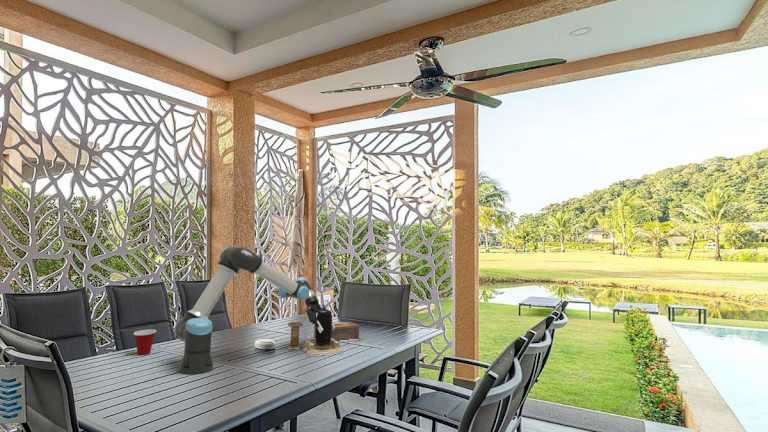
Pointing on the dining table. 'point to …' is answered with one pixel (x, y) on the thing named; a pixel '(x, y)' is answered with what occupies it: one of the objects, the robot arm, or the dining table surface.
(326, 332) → the portable speaker
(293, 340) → the bobbin
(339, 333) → the tissue box cover
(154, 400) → the dining table surface
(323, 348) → the amber glass ashtray
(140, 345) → the plastic cup
